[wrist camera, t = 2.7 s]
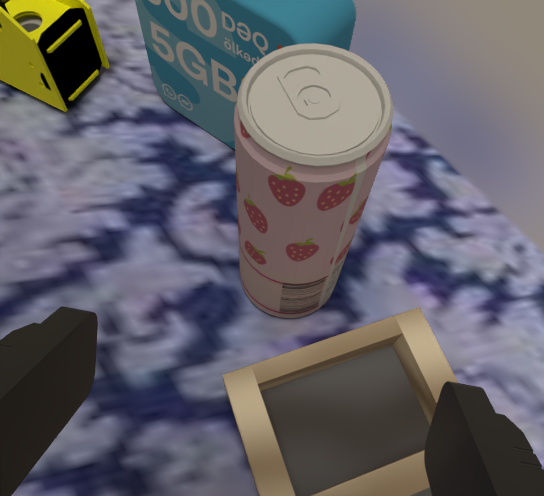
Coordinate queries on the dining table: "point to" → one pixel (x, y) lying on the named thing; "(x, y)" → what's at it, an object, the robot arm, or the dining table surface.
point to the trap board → (343, 412)
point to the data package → (229, 47)
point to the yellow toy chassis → (49, 48)
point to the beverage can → (304, 170)
